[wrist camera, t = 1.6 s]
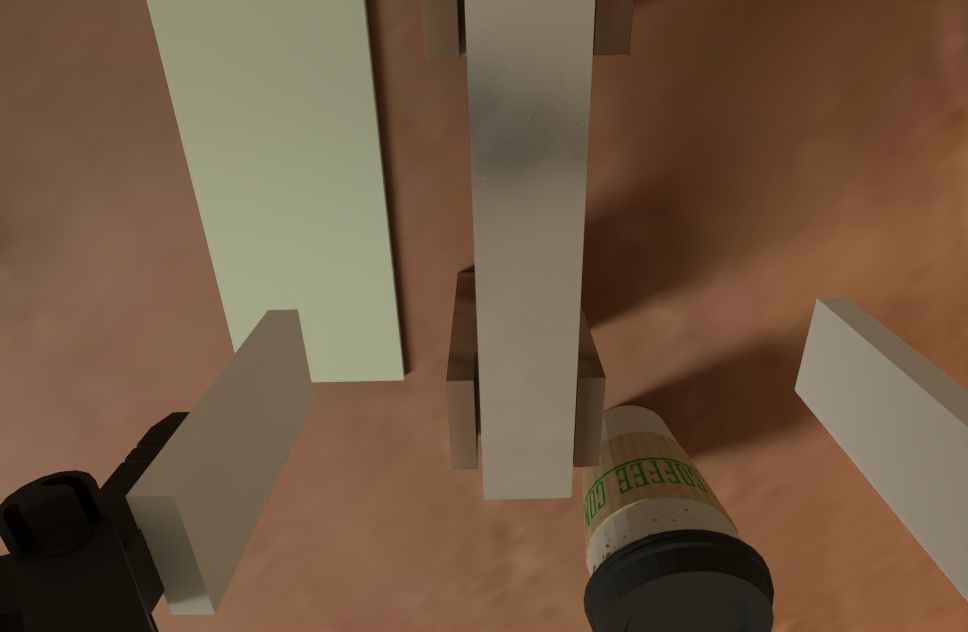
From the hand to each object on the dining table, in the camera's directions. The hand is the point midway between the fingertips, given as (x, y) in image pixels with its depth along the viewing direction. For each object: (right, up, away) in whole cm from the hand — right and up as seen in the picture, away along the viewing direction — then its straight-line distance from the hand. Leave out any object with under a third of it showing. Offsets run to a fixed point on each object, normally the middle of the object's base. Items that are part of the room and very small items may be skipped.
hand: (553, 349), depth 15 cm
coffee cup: (+8, -8, +28) cm, 30 cm away
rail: (0, +5, +10) cm, 11 cm away
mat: (-13, +9, +19) cm, 25 cm away
